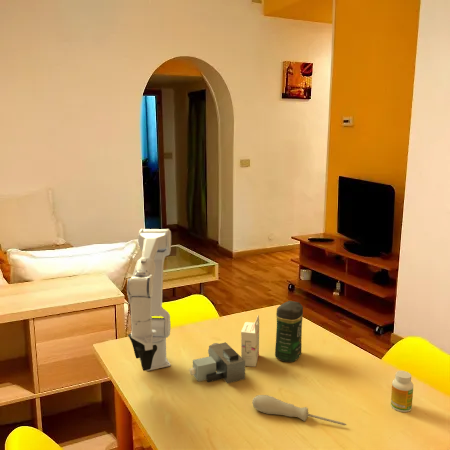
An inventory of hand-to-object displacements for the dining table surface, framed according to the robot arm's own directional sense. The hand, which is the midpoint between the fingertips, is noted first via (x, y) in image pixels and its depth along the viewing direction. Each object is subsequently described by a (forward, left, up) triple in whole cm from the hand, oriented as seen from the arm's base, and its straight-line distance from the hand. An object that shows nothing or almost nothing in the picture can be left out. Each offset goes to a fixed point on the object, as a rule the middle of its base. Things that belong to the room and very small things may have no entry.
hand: (143, 363), depth 132 cm
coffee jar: (-2, +50, -10) cm, 51 cm away
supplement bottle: (+36, +62, -10) cm, 72 cm away
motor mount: (-3, +24, -9) cm, 26 cm away
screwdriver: (+28, +34, -10) cm, 45 cm away
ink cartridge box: (-5, +37, -10) cm, 39 cm away
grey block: (-2, +20, -10) cm, 22 cm away
